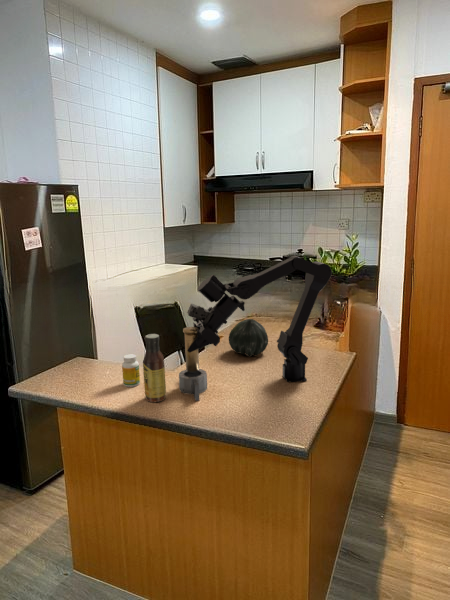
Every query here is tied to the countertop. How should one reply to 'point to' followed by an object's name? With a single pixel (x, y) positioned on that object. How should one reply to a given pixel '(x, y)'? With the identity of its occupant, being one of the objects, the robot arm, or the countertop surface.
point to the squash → (248, 338)
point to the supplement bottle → (130, 371)
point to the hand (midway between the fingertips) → (187, 349)
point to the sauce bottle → (154, 370)
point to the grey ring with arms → (193, 382)
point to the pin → (193, 356)
